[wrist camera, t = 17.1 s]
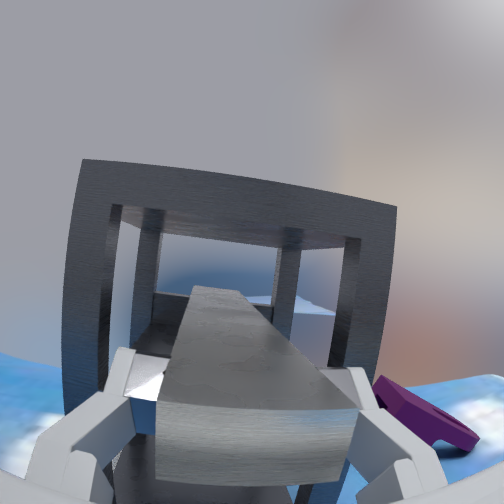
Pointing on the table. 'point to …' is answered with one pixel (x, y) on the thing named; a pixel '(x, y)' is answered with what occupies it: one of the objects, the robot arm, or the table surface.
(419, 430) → the mounting bracket
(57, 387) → the table surface
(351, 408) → the strip
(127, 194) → the rack
